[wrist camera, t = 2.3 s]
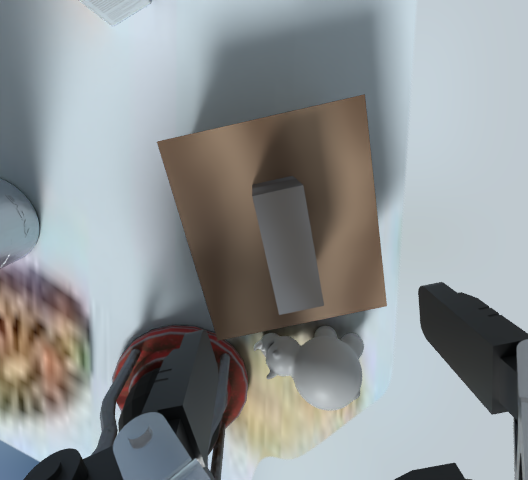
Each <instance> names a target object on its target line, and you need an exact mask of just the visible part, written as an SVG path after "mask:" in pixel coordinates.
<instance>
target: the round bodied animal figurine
mask: <svg viewBox="0 0 528 480" xmlns="http://www.w3.org/2000/svg"><path fill="white" fill-rule="evenodd" d="M256 349H260V350H261V351H262V353H263V354H264V355H265V357H266V364H267V365H268V367H269V369H270V373H269V374H268V375H267V379H271V378H273V377H275V376H276V375H279V376H291V377H292V378H293V380H294V382H295V385H296V388H297V390H298V392H299V393H300V395H301V396H302V397H303V398H304V399H305V400H306V401H307V402H308V403H309V404H311V405H313V406H314V407H316V408H319V409H323V410H337V409H341V408H343V407H345V406H347V405H348V404H350V403H351V402H352V401H353V400H355V399H357V398H358V397H359V396H360V387H361V383H362V369H361V365H360V362H359V358H360V356H361V355H362V352H363V349H364V344H363V341H362V339H361V338H360V337H359V336H358V335H356V334H354V333H348V334H346V335H344V336H343V337H342V338H341V340H339V339H337V334H336V332H335V330H334V329H333V328H331V327H330V326H321V327H319V328H318V329H317V330H316V332H315V335H314V338H313V339H311V340H309V341H307V342H306V343H305V344H303V345H302V346H300V345H299V344H298V342H297V341H296V340H294V339H293V338H291V337H288V336H281V337H280V336H279V335H278V334H276V333H268V334H265V335H264V336H263V337H262V339H261V340H260V341H258V342H257V343H256V344H255V345H254V351H255V350H256Z"/></svg>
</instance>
